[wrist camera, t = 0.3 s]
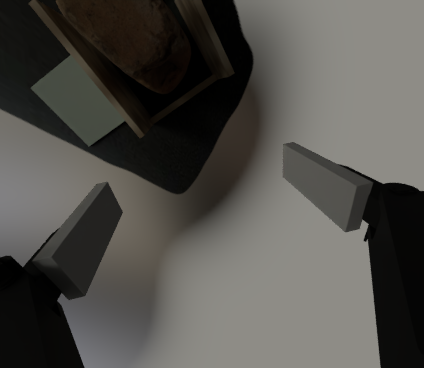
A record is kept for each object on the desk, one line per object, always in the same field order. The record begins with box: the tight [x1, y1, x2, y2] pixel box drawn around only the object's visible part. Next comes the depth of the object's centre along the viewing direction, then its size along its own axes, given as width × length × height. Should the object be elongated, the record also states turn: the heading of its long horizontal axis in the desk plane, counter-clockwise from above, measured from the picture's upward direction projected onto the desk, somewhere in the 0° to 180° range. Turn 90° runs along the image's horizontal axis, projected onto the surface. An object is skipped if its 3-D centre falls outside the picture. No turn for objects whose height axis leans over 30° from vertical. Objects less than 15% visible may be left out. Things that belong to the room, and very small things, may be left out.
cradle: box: [29, 0, 234, 138], centre depth 27 cm, size 16×16×12 cm
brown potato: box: [56, 0, 191, 94], centre depth 23 cm, size 11×8×20 cm
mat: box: [31, 55, 125, 146], centre depth 33 cm, size 12×11×1 cm
